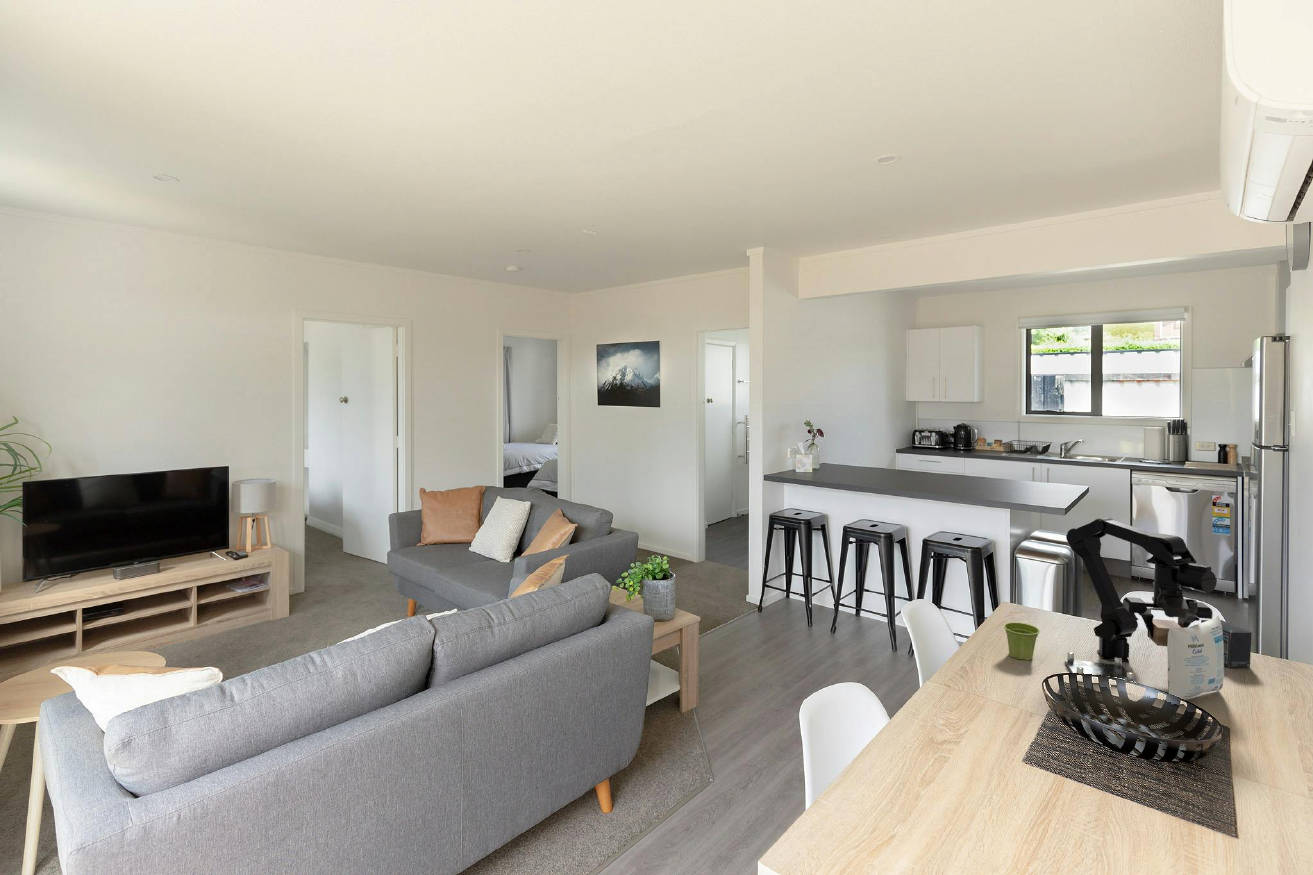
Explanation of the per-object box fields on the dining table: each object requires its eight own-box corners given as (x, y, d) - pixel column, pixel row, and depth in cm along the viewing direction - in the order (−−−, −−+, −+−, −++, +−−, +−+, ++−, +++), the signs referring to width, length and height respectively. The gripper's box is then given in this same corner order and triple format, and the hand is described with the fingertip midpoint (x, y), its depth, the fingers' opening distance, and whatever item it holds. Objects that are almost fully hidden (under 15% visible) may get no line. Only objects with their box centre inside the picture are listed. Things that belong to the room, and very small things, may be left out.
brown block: (1157, 645, 177) (1158, 627, 177) (1147, 636, 184) (1148, 618, 183) (1184, 647, 175) (1184, 629, 175) (1173, 638, 182) (1173, 620, 182)
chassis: (1075, 681, 179) (1076, 669, 179) (1064, 662, 191) (1064, 651, 191) (1137, 688, 174) (1137, 675, 174) (1121, 668, 186) (1121, 656, 186)
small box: (1252, 668, 184) (1253, 631, 184) (1228, 668, 184) (1230, 632, 184) (1220, 653, 195) (1222, 618, 194) (1198, 653, 195) (1199, 619, 194)
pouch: (1237, 698, 167) (1240, 621, 166) (1184, 711, 162) (1186, 632, 160) (1203, 685, 175) (1206, 612, 173) (1151, 697, 169) (1153, 621, 168)
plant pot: (1045, 657, 195) (1045, 628, 195) (1029, 665, 190) (1029, 636, 189) (1013, 647, 203) (1013, 620, 202) (997, 655, 198) (997, 626, 197)
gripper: (1136, 588, 174) (1135, 645, 175) (1223, 594, 168) (1221, 653, 169) (1123, 576, 184) (1121, 630, 186) (1204, 581, 178) (1201, 637, 179)
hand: (1165, 638), depth 180 cm, fingers closed on brown block, 6 cm apart
